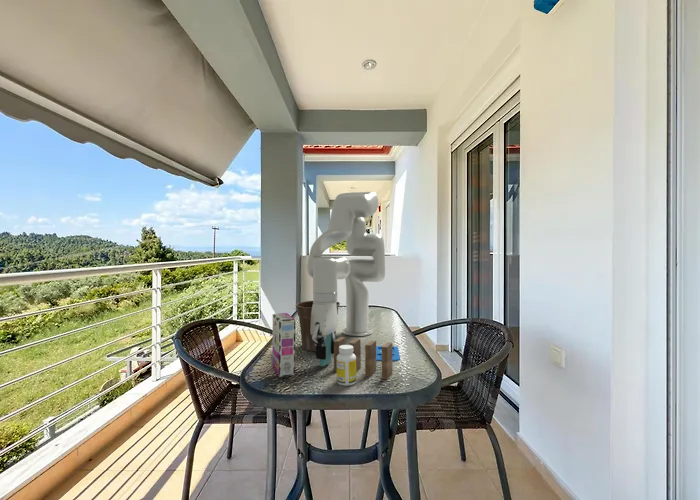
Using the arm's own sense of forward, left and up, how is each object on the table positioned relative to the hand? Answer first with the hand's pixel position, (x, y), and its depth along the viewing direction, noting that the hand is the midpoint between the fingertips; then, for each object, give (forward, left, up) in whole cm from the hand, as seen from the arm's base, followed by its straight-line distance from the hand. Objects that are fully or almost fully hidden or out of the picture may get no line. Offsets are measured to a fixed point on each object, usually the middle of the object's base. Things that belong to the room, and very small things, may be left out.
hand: (325, 355), depth 105 cm
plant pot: (-17, -12, -4) cm, 21 cm away
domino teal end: (0, 0, -2) cm, 2 cm away
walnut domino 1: (0, +5, -3) cm, 6 cm away
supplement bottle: (+9, +11, -4) cm, 14 cm away
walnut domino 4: (0, +20, -3) cm, 20 cm away
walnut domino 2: (0, +10, -3) cm, 11 cm away
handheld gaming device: (-19, +14, -4) cm, 24 cm away
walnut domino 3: (0, +15, -3) cm, 15 cm away
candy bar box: (+8, -10, -4) cm, 13 cm away
